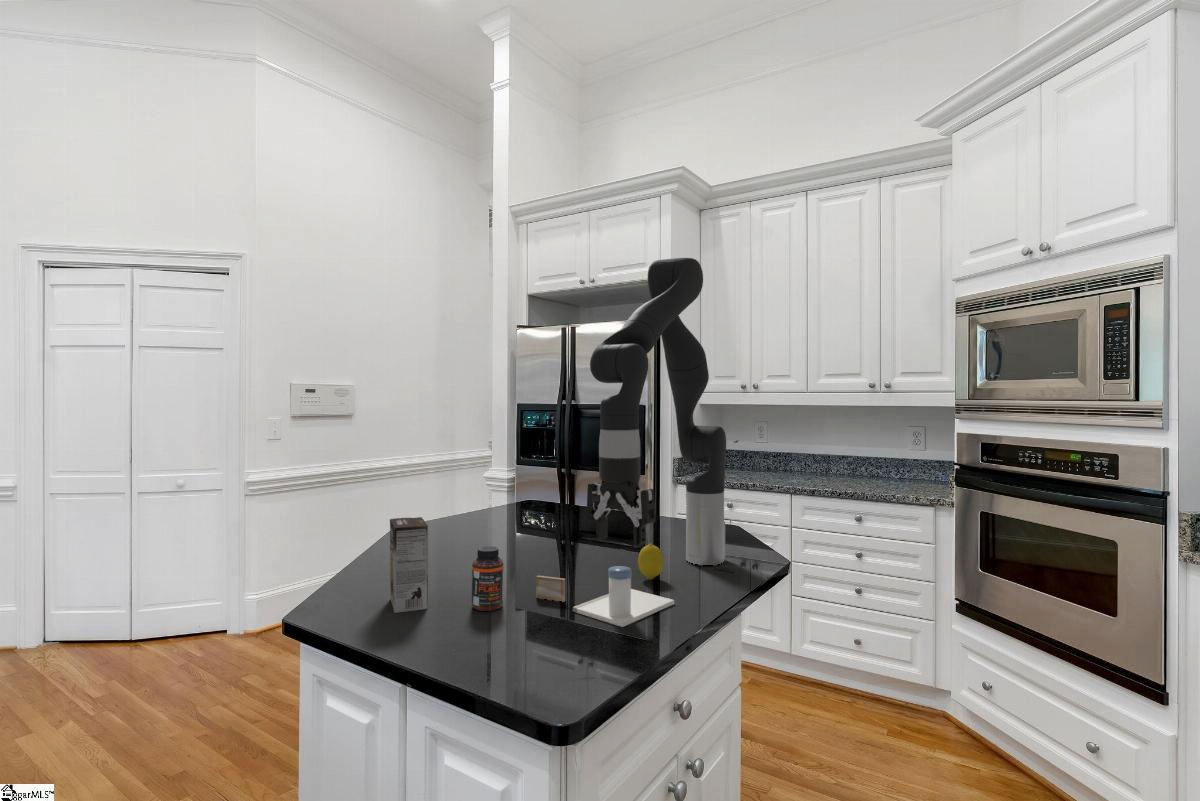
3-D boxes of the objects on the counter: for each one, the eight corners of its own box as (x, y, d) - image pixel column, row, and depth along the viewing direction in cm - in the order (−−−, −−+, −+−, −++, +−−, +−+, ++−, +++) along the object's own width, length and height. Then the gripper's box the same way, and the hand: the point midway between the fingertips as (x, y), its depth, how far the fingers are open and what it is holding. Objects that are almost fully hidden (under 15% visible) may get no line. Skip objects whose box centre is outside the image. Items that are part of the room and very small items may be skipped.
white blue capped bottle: (618, 608, 116) (618, 564, 116) (636, 613, 113) (636, 568, 113) (603, 614, 113) (603, 569, 113) (621, 620, 110) (621, 573, 110)
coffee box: (389, 599, 124) (389, 518, 123) (422, 595, 126) (422, 515, 126) (393, 613, 115) (393, 527, 115) (428, 609, 118) (428, 524, 118)
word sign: (537, 597, 125) (538, 575, 125) (565, 600, 123) (565, 578, 123) (536, 598, 124) (536, 576, 124) (563, 602, 122) (563, 579, 122)
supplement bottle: (476, 614, 115) (476, 553, 115) (468, 604, 120) (468, 546, 120) (507, 609, 118) (507, 550, 118) (497, 600, 123) (497, 543, 123)
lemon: (661, 584, 133) (661, 547, 133) (636, 582, 135) (636, 545, 135) (664, 576, 139) (664, 541, 139) (640, 575, 140) (639, 540, 140)
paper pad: (626, 591, 129) (626, 587, 129) (674, 604, 121) (674, 599, 121) (572, 611, 116) (572, 607, 116) (622, 627, 109) (622, 622, 109)
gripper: (663, 455, 111) (664, 545, 111) (603, 450, 120) (603, 533, 120) (638, 458, 105) (638, 553, 105) (577, 453, 114) (577, 540, 115)
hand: (620, 542), depth 113 cm, fingers open, 8 cm apart
